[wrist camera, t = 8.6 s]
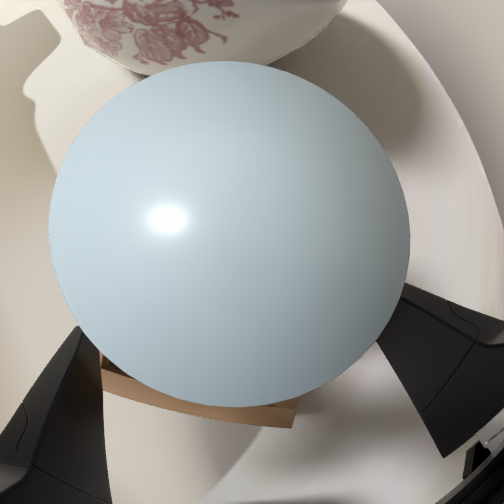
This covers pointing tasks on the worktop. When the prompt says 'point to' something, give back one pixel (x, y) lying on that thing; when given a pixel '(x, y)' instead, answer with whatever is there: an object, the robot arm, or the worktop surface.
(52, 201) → the pale blue rounded cylinder
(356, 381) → the worktop surface
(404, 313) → the robot arm
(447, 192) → the worktop surface
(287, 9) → the chamber pot
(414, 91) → the worktop surface
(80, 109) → the worktop surface
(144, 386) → the tray
